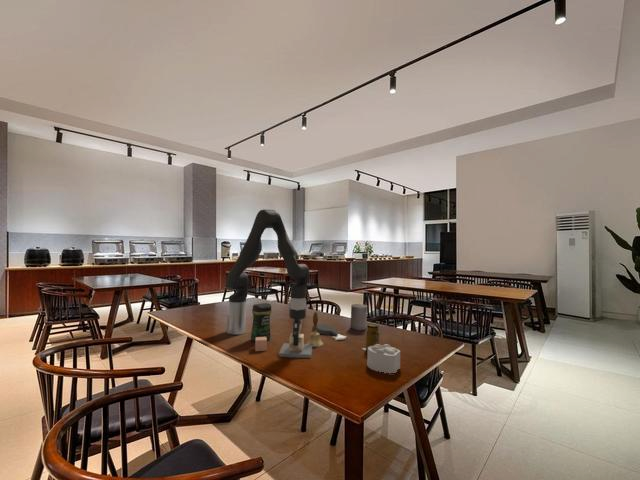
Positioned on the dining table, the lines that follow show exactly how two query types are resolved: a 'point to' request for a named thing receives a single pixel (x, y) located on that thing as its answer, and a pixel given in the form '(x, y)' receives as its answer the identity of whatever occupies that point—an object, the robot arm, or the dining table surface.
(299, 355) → the slate tile
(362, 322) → the pillar candle
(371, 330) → the condiment
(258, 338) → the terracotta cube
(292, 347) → the birch cube
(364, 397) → the dining table surface
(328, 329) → the spray bottle
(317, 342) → the hand bell
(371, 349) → the lumpy-topped squat cylinder
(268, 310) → the coffee jar
